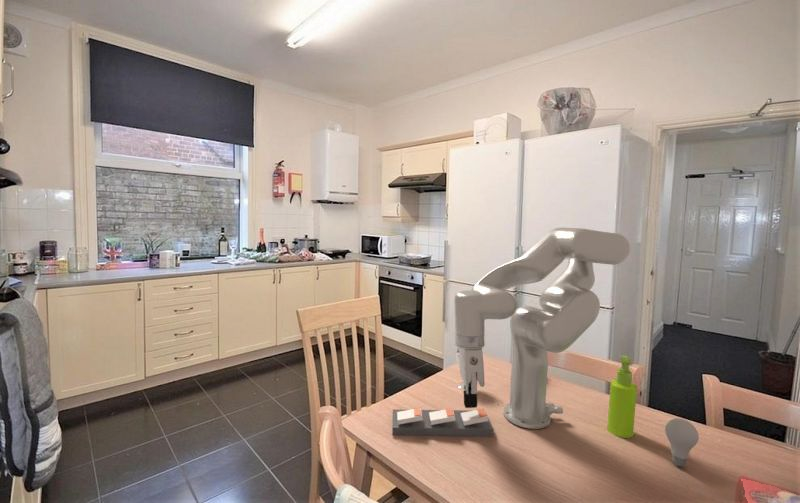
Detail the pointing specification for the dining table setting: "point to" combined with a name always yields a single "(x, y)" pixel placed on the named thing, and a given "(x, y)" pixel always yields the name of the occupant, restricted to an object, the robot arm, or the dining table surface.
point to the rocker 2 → (474, 416)
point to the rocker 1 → (409, 416)
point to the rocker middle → (442, 416)
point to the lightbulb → (681, 439)
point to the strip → (441, 426)
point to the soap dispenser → (622, 402)
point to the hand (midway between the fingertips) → (470, 406)
